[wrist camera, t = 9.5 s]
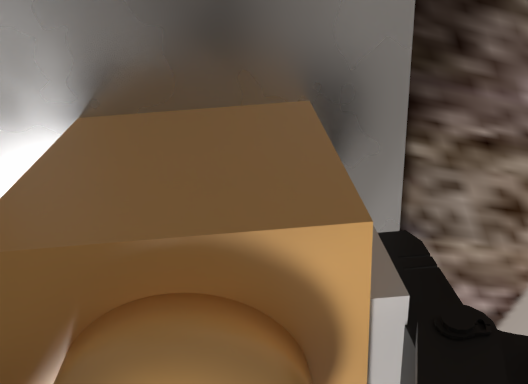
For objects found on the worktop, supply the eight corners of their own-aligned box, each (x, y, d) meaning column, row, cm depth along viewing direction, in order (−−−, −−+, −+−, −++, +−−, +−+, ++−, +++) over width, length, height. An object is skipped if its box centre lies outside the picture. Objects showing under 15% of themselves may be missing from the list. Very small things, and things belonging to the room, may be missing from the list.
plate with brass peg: (-68, -87, 12) (-352, -123, 6) (407, -118, 13) (565, -183, 7) (65, 341, 19) (-16, 529, 12) (383, 314, 19) (453, 484, 13)
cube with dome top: (78, 117, 14) (-108, 308, 6) (309, 100, 14) (396, 266, 6) (121, 304, 16) (28, 589, 9) (313, 288, 17) (378, 556, 9)
